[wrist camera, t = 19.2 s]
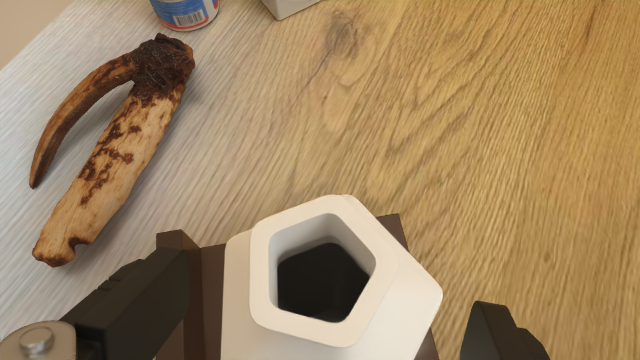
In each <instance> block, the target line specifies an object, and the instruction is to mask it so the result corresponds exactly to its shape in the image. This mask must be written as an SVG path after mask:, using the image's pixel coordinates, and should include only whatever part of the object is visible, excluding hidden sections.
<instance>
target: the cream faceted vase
mask: <svg viewBox="0 0 640 360" xmlns="http://www.w3.org/2000/svg"><path fill="white" fill-rule="evenodd" d="M442 298H443V293H442V289H441V287H440V286H439V284H438V283H437V282H436V281H435V280H434V279H433V277H432V276H431V275H430V274H429V273H428V272H427V271H426V270H425V269H424V268H423V267H422V266H421V265H420V264H419V263H418V262H417V261H416V260H415V259H414V258H413V257H412V256H411V255H410V254H409V253H408V252H407V250H406V249H405V248H404V247H403V246H402V245H401V244H400V243H399V242H398V241H397V240H396V239H395V238H394V237H393V236H392V235H391V234H390V233H389V232H388V231H387V230H386V229H385V228H384V227H383V226H382V225H381V223H380V222H379V221H378V220H377V219H376V218H375V217H374V216H373V215H372V214H371V213H370V212H369V211H368V210H367V209H366V208H365V207H364V206H363V205H362V204H361V203H360V202H359V201H358V200H357V199H356V198H355V197H353V196H352V195H347V194H344V195H339V196H338V195H334V194H331V195H326V196H322V197H319V198H316V199H314V200H311V201H309V202H306V203H303V204H301V205H298V206H295V207H293V208H290V209H287V210H285V211H282V212H279V213H277V214H274V215H271V216H269V217H266V218H264V219H263V220H261V221H259V222H257V223H256V225H255V226H254V227H253V228H252V229H249V230H247V231H244V232H241V233H239V234H236V235H235V236H233V237H231V238H230V239H229V241H228V242H227V243H226V248H225V263H224V288H223V313H222V338H221V360H414V358H415V356H416V354H417V352H418V350H419V348H420V346H421V344H422V342H423V340H424V338H425V335H426V333H427V331H428V329H429V327H430V325H431V323H432V321H433V319H434V317H435V315H436V313H437V311H438V309H439V307H440V305H441V302H442Z"/></svg>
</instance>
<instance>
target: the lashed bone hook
mask: <svg viewBox="0 0 640 360" xmlns="http://www.w3.org/2000/svg"><path fill="white" fill-rule="evenodd" d="M194 68H195V61H194V59H193V50H192V48H191V47H189V46H188V45H187V44H184V43H183V42H182V41H181V40H178V39H175V38H169V37H167V36H166V35H164V34H161V33H157V35H156V37H155V39H154V40H152V39H151V40H148V41H146V42H143V43H141V44H140V46H139V47H138V48H137V49H135V50H133V51H132V52H130V53H127V54H124V55H122V56H120V57H118V58H116V59H113V60H110V61H109V62H107V63H105V64H103V65H102V66H100V67H99V68H97V69H96V70H94V71H93V72H91V73H90V74H89V75H88V76H87V77H86V78H85V79H83V80H82V81H81V82H80V83H79V84H78V85H77V87H76V88H75V89H74V90H73V91H72V92H71V93H70V94H69V95H68V96H67V97H66V98H65V100H64V101H63V102H62V103H61V105H60V106H59V107H58V109H57V110H56V111H55V113H54V114H53V116H52V117H51V119H50V121H49V122H48V124H47V125H46V128H45V129H44V132H43V134H42V136H41V138H40V140H39V143H38V145H37V148H36V151H35V154H34V158H33V161H32V166H31V172H30V182H29V185H30V187H31V188H32V189H34V188H35V187H36V186H37V185H38V184H39V183H40V181H41V179H42V178H43V176H44V175H45V173H46V171H47V169H48V167H49V166H50V164H51V162H52V160H53V158H54V156H55V154H56V152H57V150H58V148H59V146H60V144H61V142H62V141H63V139H64V137H65V135H66V134H67V132H68V131H69V130H70V129H71V128H72V127H73V125H74V124H75V123H76V122H77V121H78V120H79V119H80V118H81V117H82V116H83V115H84V114H85V113H86V112H87V111H88V110H89V109H90V108H91V107H92V106H93V105H94V104H95V103H96V102H97V101H98V100H99V99H100V98H102V97H103V96H104V95H105V94H106V93H108V92H109V91H111V90H112V89H114V88H116V87H117V86H119V85H123V84H124V83H126V82H128V81H130V80H132V81H133V82H134V83H135V84H134V86H133V88H132V89H131V90H130V93H129V95H128V97H127V99H126V100H125V101H124V103H123V105H122V107H121V109H120V110H119V111H118V112H117V114H116V115H115V116H114V117H113V119H112V121H111V122H110V124H109V126H108V127H107V128H106V129H105V130H104V133H103V134H102V135H101V136H100V138H99V140H98V142H97V145H96V146H95V148H94V149H93V151H92V153H91V155H90V157H89V158H88V160H87V161H86V163H85V165H84V166H83V168H82V169H81V171H80V172H79V174H78V175H77V176H76V179H75V180H74V181H73V183H72V185H71V186H70V188H69V190H68V191H67V193H66V194H65V195H64V196H63V198H62V199H61V200H60V201H59V202H58V204H57V205H56V207H55V208H54V210H53V212H52V214H51V217H50V219H48V222H47V223H46V224H45V225H44V227H43V229H42V230H41V234H40V237H39V239H38V241H37V243H36V245H35V247H34V248H33V251H32V255H33V256H34V257H35V259H36V260H38V261H43V262H46V263H47V264H48V265H49V266H51V267H59V266H62V265H64V264H66V263H68V262H69V261H71V260H72V259H73V258H74V257H75V255H76V253H75V245H77V244H86V245H89V244H91V243H93V241H94V239H95V238H96V236H97V235H98V234H99V232H100V231H101V230H102V228H103V227H104V226H105V224H106V223H107V222H108V221H109V220H110V218H111V217H112V216H113V215H114V214H115V213H116V212H117V210H118V209H119V208H120V207H121V206H122V205H123V204H124V203H125V202H126V200H127V198H128V196H129V194H130V192H131V190H132V187H133V185H134V183H135V182H136V180H137V179H138V177H139V175H140V173H141V172H142V170H143V169H144V168H145V167H146V166H147V164H148V163H149V161H150V159H151V157H152V156H153V155H154V153H155V150H156V148H157V146H158V145H159V144H160V142H161V141H162V138H163V136H164V134H165V130H166V128H167V127H168V126H169V124H170V122H171V119H172V116H173V114H174V112H175V110H176V108H177V107H178V105H179V104H180V103H181V97H182V94H183V92H184V90H185V83H186V82H187V81H188V79H189V75H190V74H191V72H192V70H193V69H194Z"/></svg>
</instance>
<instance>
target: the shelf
mask: <svg viewBox="0 0 640 360" xmlns="http://www.w3.org/2000/svg"><path fill="white" fill-rule="evenodd" d="M375 218H376V219H377V220H378V221H379V222H380V223H381V225H382V226H383V227H384V228H385V229H386V230H387V231H388V232H389V233H390V234H391V235H392V236H393V237H394V238H395V239H396V240H397V241H398V242H399V243H400V244H401V245H402V246H403V247H404V248H405V249H406V250H407V252H408V253H409V250H408V246H407V243H406V239H405V236H404V232H403V228H402V225H401V221H400V218H399V214H398V213H396V214H391V215H385V216H379V217H375ZM161 245H164V246H170V247H176V248H182V249H187V250H188V251H189V253H190V300H189V305H188V308H187V311H186V313H185V315H184V317H183V319H182V320H181V321H180V323H179V324H178V326H177V327H176V328H175V330H174V331H173V332H172V334H171V335H170V336H169V338H168V339H167V340H166V342H165V343H164V345H163V346H162V347H161V349H160V350H159V351H158V353H157V354H156V360H221V338H222V313H223V288H224V263H225V248H226V244H220V245H214V246H209V247H203V248H200V247H199V246H198V245H197V244H196V243H195V242H194V241H193V240H192V239H191V238H190V237H189V236H188V235H187V234H186V233H185V232H184V231H183V230H181V229H179V230H174V231H168V232H162V233H157V234H156V249H157V248H158V247H159V246H161ZM409 254H410V253H409ZM414 360H439V357H438V353H437V350H436V346H435V342H434V339H433V335H432V332H431V328H430V327H429V329H428V331H427V333H426V335H425V338H424V340H423V342H422V344H421V346H420V348H419V350H418V352H417V354H416V356H415V358H414Z"/></svg>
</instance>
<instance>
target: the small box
mask: <svg viewBox="0 0 640 360" xmlns="http://www.w3.org/2000/svg"><path fill="white" fill-rule="evenodd" d="M261 1H262V2H263V3H264V5H265V6H266V7H267V8H268V9H269V11H270V12H271V13H272V14H273V15H274V16H275V18H276V19H277V20H278V21H280V20H282V19H284V18H286V17H288V16H290V15H292V14H294V13H296V12H298V11H301V10H303V9H305V8H307V7H309V6H311V5H313V4H315V3H317V2H319V1H321V0H261Z"/></svg>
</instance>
